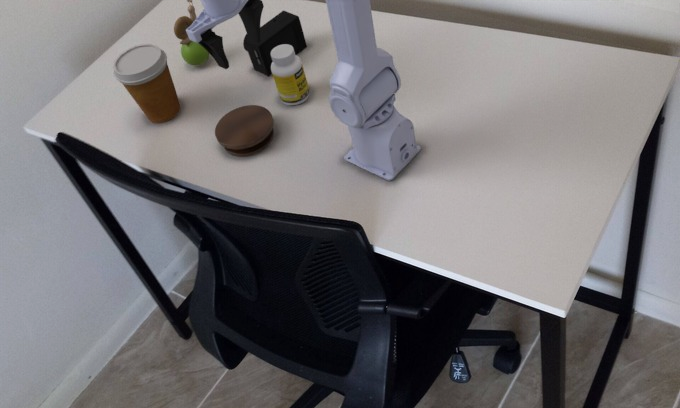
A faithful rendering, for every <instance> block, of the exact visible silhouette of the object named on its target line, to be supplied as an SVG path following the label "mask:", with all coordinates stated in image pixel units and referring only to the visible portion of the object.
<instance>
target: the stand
mask: <svg viewBox="0 0 680 408" xmlns="http://www.w3.org/2000/svg"><path fill="white" fill-rule="evenodd" d="M274 126H275V121H274V117H273V114H272V113H271V111H270V110H269V108H266V107H264V106H262V105H257V104H248V105H242V106H239V107H236V108H234V109H232V110H229V111H228V112H227V113H225V114H224V115H223V116H222V117H220V119H219V120H218V121H217V124H216V125H215V127H214V136H215V138H216V140H217V142H218V144H219V145H220V146H222V147H223V149H224V150H225V152H226V153H227V154H229V155H231V156H234V157H238V158H240V157H241V158H242V157H243V158H245V157H250V156H254V155H256V154H259V153H261V152H262V151H264V150H265V149H266V148H268V146H270V145H271V143H272V142H273V140H274V137H275V128H274Z"/></svg>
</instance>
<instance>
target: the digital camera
mask: <svg viewBox="0 0 680 408" xmlns="http://www.w3.org/2000/svg"><path fill="white" fill-rule="evenodd" d="M302 26H303V25H302V22H301V19H300V17H299V16H298V15H296V14H295V13H291V12H289V11H286V10H282V11H281V12H279V13H277V15H275V16H274V17H273V18H271V19H270V20H268V21H267V22H266V23H264V24H263V25H261V26H260V36H261V42H260V43H256V42H253V41H250V39H249V37H248V35H247V33H245V36H244V38H243V41H242V44H243V48H244V50H245V51H246V52H247V53H248V56H249V60H250V61H251V64H252V67H253V70H254V71H256V72H258V73H260V74H262V75H264V76H266V77H268V78H269V77H271V76H273V75H272V72H271V64H272V62H273V61H272V58H271V51H272V49H273V48H275V47H276V46H279V45H282V44H289V45H291V46H292V47H293V48H294V52H295V55H297V56H298V55H299V54H300V53H301V52H303V51H304V50H305V49H306V48H308V45H307V41H306V37H305V34H304V31H303V27H302Z"/></svg>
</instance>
